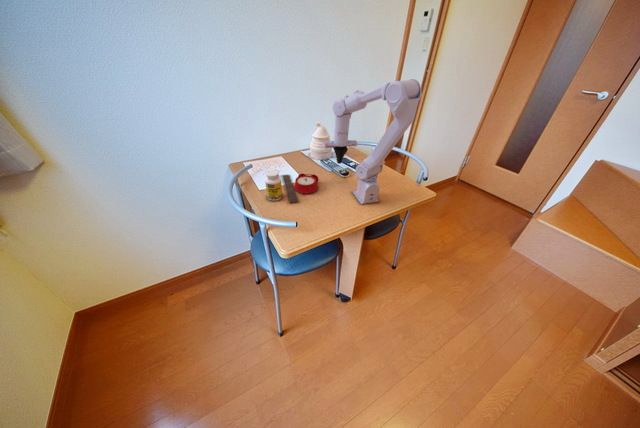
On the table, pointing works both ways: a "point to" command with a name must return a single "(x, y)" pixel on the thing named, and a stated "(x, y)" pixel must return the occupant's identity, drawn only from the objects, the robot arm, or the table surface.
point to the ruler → (289, 189)
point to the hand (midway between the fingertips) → (339, 162)
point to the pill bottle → (273, 186)
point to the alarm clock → (306, 183)
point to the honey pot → (320, 143)
